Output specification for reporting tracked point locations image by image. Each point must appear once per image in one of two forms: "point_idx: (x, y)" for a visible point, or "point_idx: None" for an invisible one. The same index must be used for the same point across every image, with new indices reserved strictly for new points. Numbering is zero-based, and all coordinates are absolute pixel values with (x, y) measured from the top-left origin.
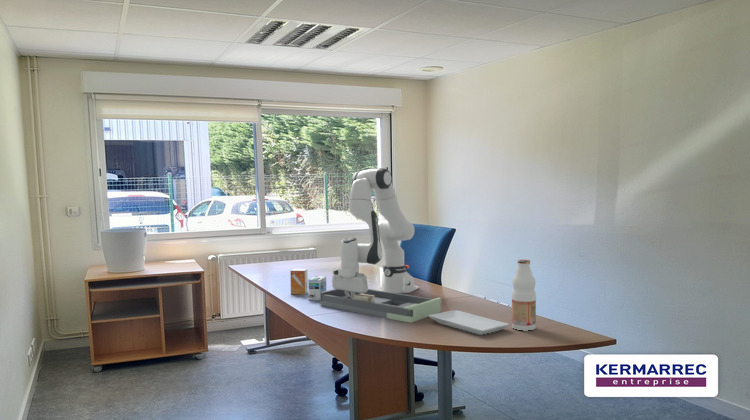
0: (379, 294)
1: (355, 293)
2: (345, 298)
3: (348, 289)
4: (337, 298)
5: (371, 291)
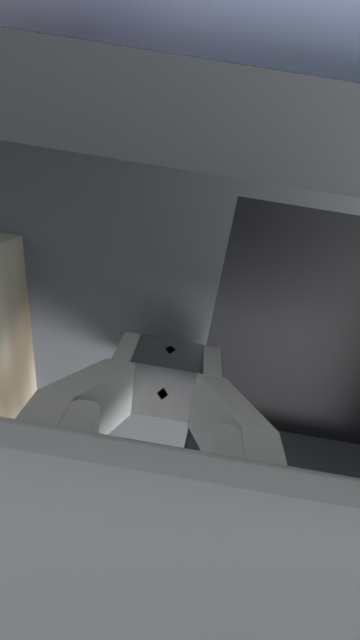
0: None
1: None
2: (15, 65)
3: (87, 474)
4: (318, 87)
5: None
